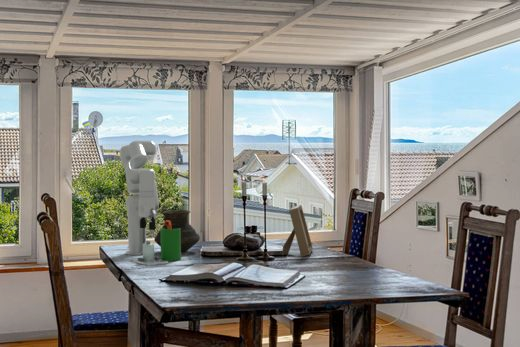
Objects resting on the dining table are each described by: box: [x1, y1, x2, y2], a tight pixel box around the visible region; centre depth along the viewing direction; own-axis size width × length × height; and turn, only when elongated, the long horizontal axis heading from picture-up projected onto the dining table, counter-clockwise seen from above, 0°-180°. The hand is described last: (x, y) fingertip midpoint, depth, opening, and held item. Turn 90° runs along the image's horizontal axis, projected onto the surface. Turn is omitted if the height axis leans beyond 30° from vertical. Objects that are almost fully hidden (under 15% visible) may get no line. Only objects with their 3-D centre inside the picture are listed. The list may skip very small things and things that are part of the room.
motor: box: [159, 220, 182, 262], centre depth 346 cm, size 10×9×20 cm
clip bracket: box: [128, 255, 169, 267], centre depth 338 cm, size 20×11×2 cm, turn 37°
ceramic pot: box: [154, 209, 201, 254], centre depth 372 cm, size 24×24×22 cm
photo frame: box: [281, 204, 313, 258], centre depth 360 cm, size 15×22×25 cm
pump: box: [142, 240, 155, 261], centre depth 338 cm, size 6×6×10 cm
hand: (147, 228), depth 338 cm, fingers open, 9 cm apart
